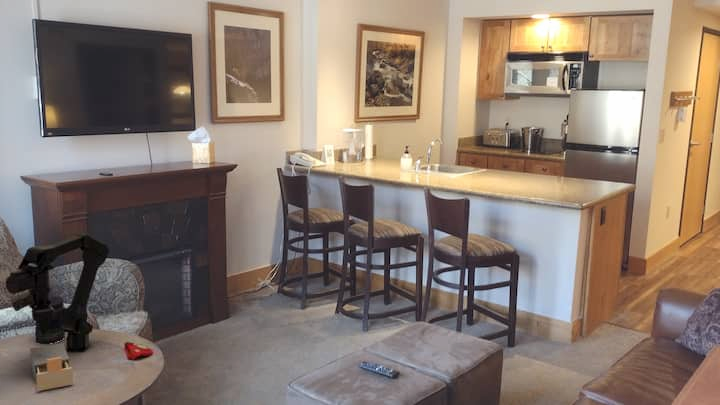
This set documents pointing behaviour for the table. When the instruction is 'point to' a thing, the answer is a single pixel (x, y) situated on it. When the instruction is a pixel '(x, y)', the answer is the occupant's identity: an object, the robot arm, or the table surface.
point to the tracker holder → (136, 350)
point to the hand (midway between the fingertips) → (41, 329)
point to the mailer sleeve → (47, 355)
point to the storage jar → (52, 324)
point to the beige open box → (53, 374)
